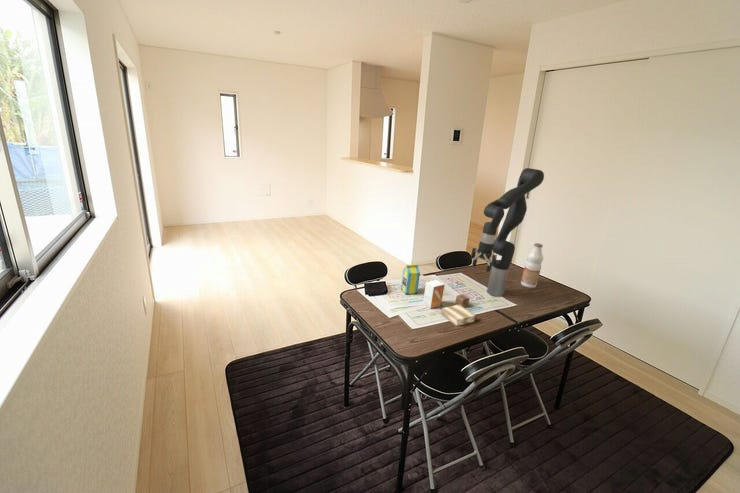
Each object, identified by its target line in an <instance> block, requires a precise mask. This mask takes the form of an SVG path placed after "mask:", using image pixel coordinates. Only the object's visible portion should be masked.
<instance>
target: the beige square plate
mask: <svg viewBox="0 0 740 493" xmlns="http://www.w3.org/2000/svg"><path fill="white" fill-rule="evenodd" d="M440 315H441V316H442V317H444V318H445V319H446V320H448V321H449V322H450V323H451V324H453V325H454V326H456V327H458V326H462V325H467V324H470V323H474V322H475V320H476V314H475V313H473V312H471V311H470V310H469V309H467V307H463V306H461V305H460V304H459V305H456V304H454V305H450V306H447V307H442V308H441V312H440Z"/></svg>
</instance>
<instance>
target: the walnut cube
mask: <svg viewBox="0 0 740 493" xmlns="http://www.w3.org/2000/svg"><path fill="white" fill-rule="evenodd" d="M456 304H457V305H459V304H460V305H461V306H463V307H464V308H467V307H469V304H470V297H469V296H467V295H466V294H458V295H456V297H455V302H454V305H456Z"/></svg>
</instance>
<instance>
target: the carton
mask: <svg viewBox="0 0 740 493" xmlns="http://www.w3.org/2000/svg"><path fill="white" fill-rule="evenodd" d="M420 275H421V272H420V269H419V264H413V260H410V264H406V267H404V268H403V272H402V280H401V288H400V289H401V291H402V292H403V294H404V295H407V296H408V295H418V290H419V282H420Z"/></svg>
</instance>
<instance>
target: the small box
mask: <svg viewBox="0 0 740 493" xmlns="http://www.w3.org/2000/svg"><path fill="white" fill-rule="evenodd" d="M444 291H445V283H443V282H442V281H439V280H438V279H436V280H431V281H426V282H425V287H424V292H423V293H424V295H423V300H422V305H424V306H426V307H428V308H429V309H435V308H437V307H441V306H442V303H443V296H444Z"/></svg>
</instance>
